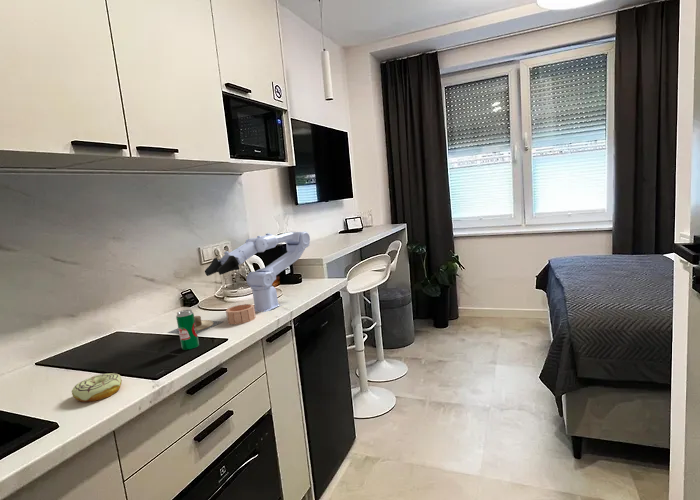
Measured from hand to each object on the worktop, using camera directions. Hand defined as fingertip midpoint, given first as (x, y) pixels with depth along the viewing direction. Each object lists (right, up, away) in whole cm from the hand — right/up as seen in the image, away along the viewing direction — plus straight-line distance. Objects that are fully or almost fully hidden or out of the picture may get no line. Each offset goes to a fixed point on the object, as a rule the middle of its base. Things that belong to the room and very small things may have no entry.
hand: (212, 272), depth 142 cm
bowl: (+9, -18, +7) cm, 22 cm away
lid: (-8, -20, +5) cm, 22 cm away
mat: (-7, -21, +5) cm, 23 cm away
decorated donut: (-14, -28, -42) cm, 53 cm away
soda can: (-1, -23, -17) cm, 28 cm away
